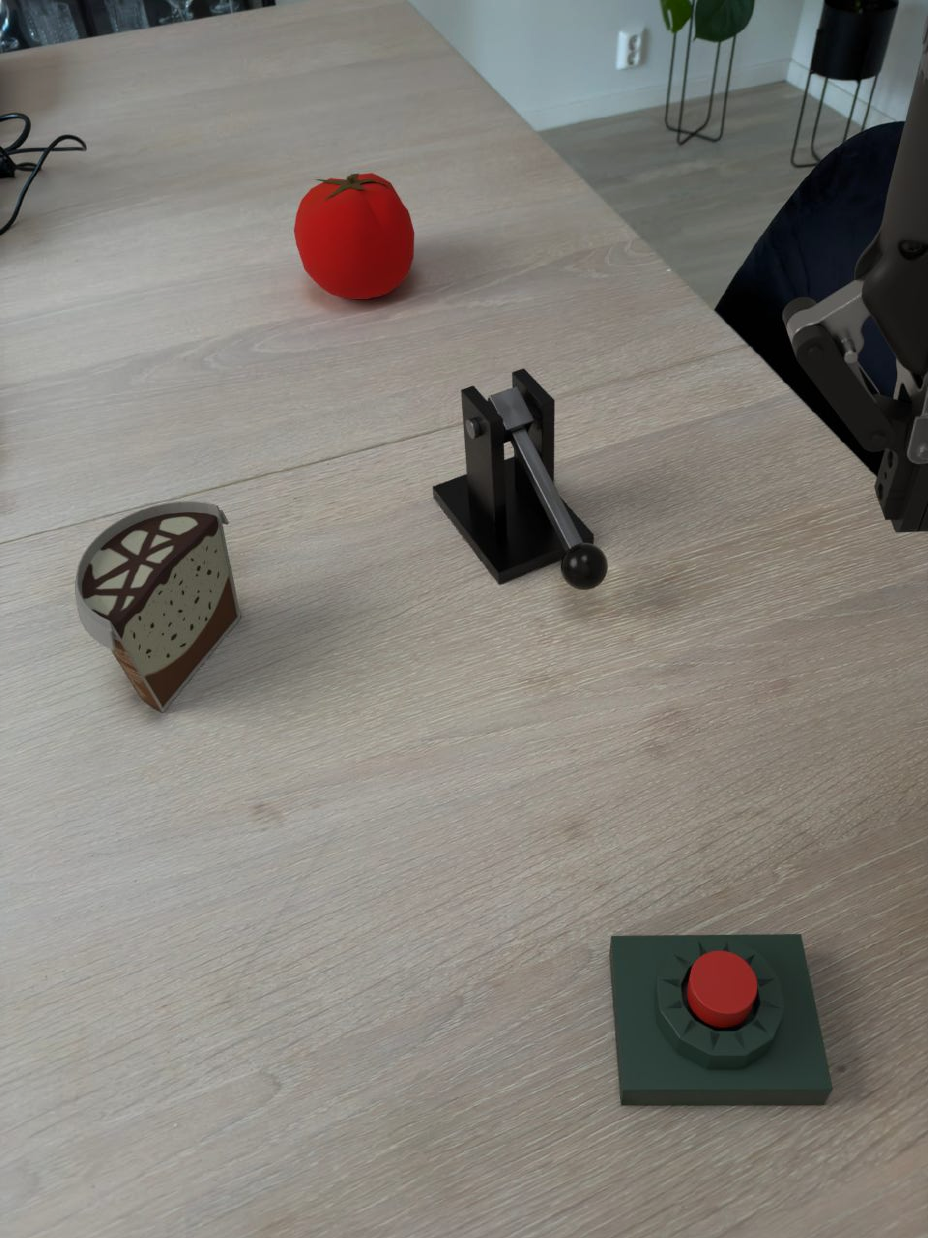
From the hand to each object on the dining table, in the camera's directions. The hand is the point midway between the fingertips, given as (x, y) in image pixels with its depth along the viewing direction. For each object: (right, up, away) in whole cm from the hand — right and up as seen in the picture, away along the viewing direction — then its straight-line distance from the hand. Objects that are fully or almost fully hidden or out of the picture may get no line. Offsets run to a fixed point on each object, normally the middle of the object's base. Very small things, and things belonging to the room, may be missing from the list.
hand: (909, 517), depth 43 cm
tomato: (-28, +29, +65) cm, 76 cm away
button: (-5, -23, +11) cm, 26 cm away
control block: (-5, -25, +14) cm, 29 cm away
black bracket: (-14, +3, +40) cm, 43 cm away
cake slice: (-38, -6, +34) cm, 51 cm away
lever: (-12, +4, +33) cm, 36 cm away
